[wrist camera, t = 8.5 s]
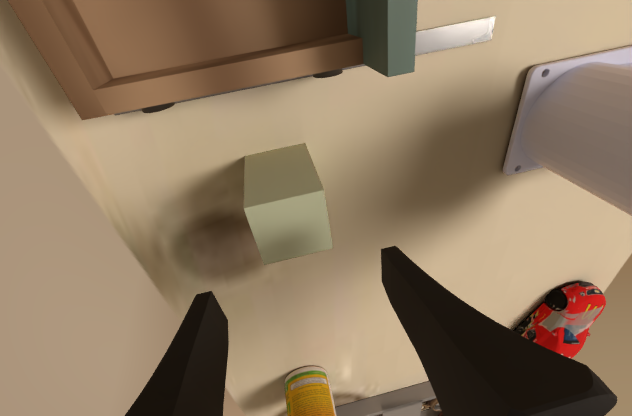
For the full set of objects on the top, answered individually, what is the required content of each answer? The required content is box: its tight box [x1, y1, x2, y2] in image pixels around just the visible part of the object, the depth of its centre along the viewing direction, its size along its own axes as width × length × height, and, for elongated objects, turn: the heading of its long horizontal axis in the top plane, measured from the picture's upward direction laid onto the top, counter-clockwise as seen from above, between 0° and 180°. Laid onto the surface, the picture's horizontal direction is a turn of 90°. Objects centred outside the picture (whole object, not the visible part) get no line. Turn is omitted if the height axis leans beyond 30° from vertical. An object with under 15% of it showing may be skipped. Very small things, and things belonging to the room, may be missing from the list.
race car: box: [514, 282, 606, 359], centre depth 38 cm, size 16×7×5 cm, turn 161°
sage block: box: [244, 143, 333, 265], centre depth 18 cm, size 4×4×6 cm
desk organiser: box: [335, 381, 441, 416], centre depth 47 cm, size 28×12×2 cm, turn 98°
